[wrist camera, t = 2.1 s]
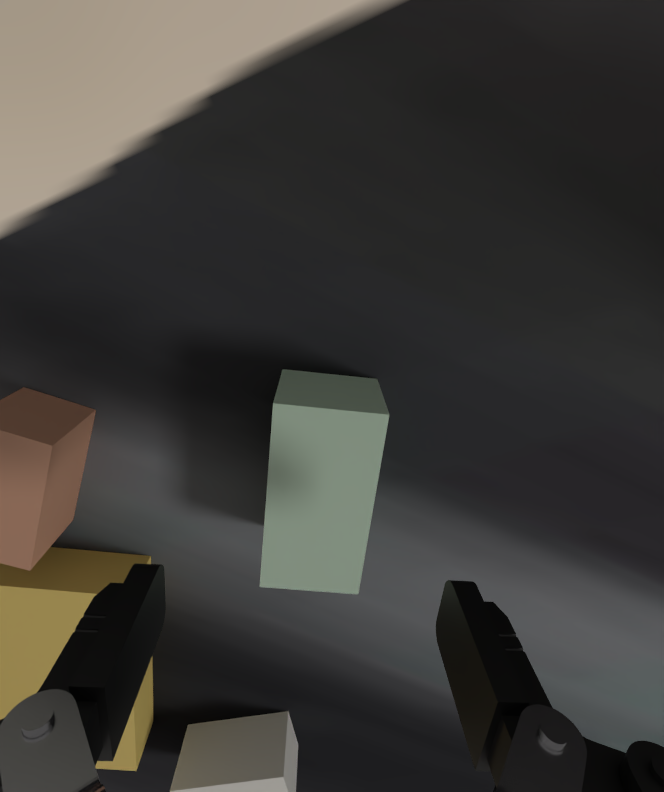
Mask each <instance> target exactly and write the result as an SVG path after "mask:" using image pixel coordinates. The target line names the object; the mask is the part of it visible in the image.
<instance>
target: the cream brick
mask: <svg viewBox="0 0 664 792" xmlns="http://www.w3.org/2000/svg"><path fill="white" fill-rule="evenodd" d="M297 757H298V743H297V739H296V736H295V732H294V729H293V726H292V722H291V719H290V715H289V712H288V711H286V712H279V713H271V714H264V715H256V716H249V717H241V718H234V719H226V720H219V721H211V722H204V723H196V724H189V725H188V726H187V730H186V734H185V737H184V741H183V745H182V748H181V752H180V756H179V759H178V763H177V767H176V770H175V774H174V778H173V782H172V785H171V789H170V792H296V777H297Z"/></svg>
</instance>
